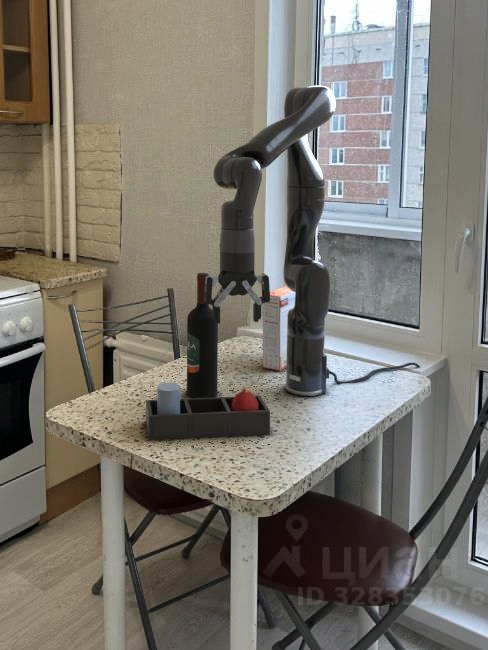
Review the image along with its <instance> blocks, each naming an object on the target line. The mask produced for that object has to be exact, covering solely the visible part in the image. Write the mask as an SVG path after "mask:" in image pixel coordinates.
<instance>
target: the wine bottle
mask: <svg viewBox="0 0 488 650" xmlns="http://www.w3.org/2000/svg"><path fill="white" fill-rule="evenodd" d="M196 275H197V276H196V285H197V286H196V307H194V308H193V309H192V310H190V311H189V313H188V314H187V317H186V318H187V319H186V396H187V398H211V397H218V371H219V370H218V365H219V364H218V363H219V362H218V361H219V360H218V359H219V358H218V357H219V356H218V355H219V354H218V353H219V323H218V324H217V323H216V321H214V319H213V317H212V315H213V314H212V308H211V307H210V304H207V303H206V302H205V301H204V291H205V277H206V276H207V275H210V273H207V272H197V274H196Z"/></svg>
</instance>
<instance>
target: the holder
mask: <svg viewBox="0 0 488 650" xmlns="http://www.w3.org/2000/svg"><path fill="white" fill-rule="evenodd" d="M254 396H255V398H256V399H257V402H258V407H259V408H258V410H255V411H232V401H233V399H234V397H235V396H216V397H211V398H190V397H186V398H185V397H184V398H180V414H162V415H157V399H146V400H145V426H146V432H147V437H148V441H158V440H177V439H178V440H181V439H201V438H202V439H203V438H220V437H222V438H223V437H241V436H263V435H264V436H265V435H270V434H271V432H270V431H271V410H270V409H269V407H268V406H267V404H266V403H265V401H264V399H263V398H262V396H261V395H254Z"/></svg>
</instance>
